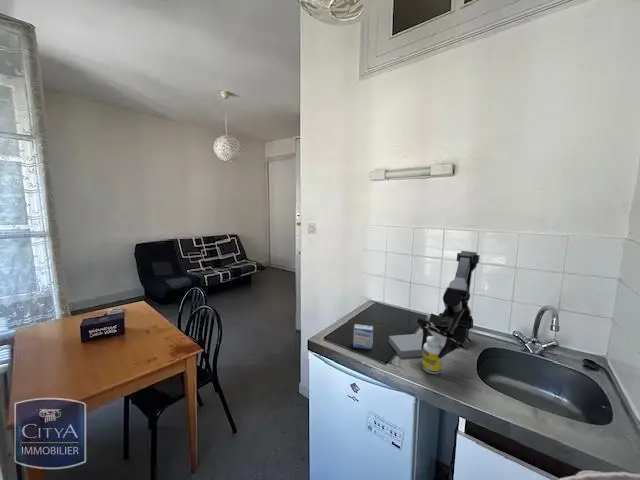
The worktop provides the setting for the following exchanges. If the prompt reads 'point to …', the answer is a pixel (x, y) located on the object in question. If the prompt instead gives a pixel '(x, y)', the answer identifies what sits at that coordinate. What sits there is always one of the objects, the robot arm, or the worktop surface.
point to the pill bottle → (432, 355)
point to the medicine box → (363, 336)
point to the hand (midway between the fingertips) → (430, 353)
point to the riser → (407, 345)
